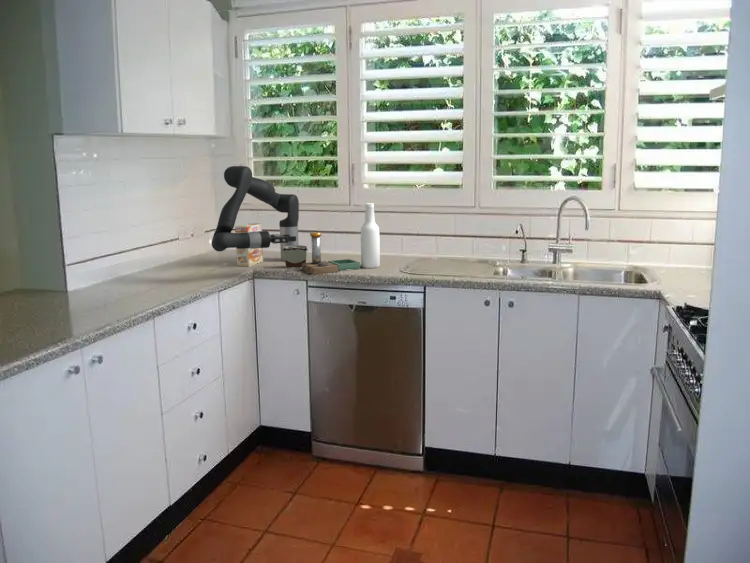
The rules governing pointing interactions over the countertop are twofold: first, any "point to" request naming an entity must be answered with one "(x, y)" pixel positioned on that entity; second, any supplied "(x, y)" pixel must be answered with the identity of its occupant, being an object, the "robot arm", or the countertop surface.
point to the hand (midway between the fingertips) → (292, 237)
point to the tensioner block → (319, 268)
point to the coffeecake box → (249, 255)
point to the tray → (346, 264)
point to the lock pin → (316, 248)
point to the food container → (295, 255)
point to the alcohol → (370, 240)
